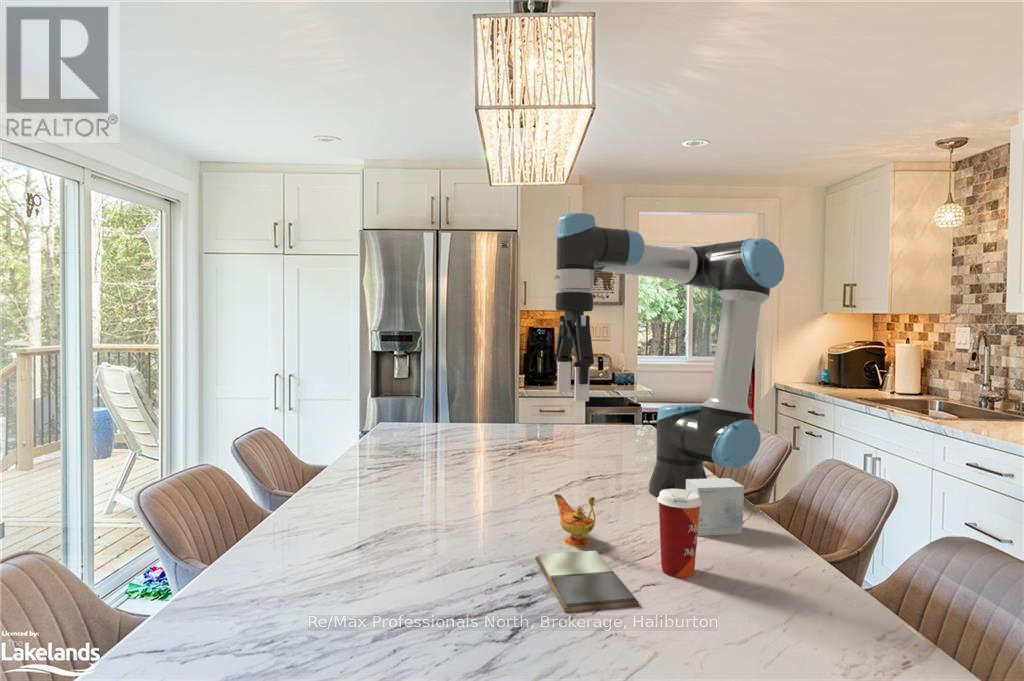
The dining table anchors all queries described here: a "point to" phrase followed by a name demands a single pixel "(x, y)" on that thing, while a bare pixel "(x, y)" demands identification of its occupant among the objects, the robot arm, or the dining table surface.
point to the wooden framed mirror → (584, 581)
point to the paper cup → (678, 531)
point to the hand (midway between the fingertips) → (572, 396)
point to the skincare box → (718, 505)
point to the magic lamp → (575, 522)
